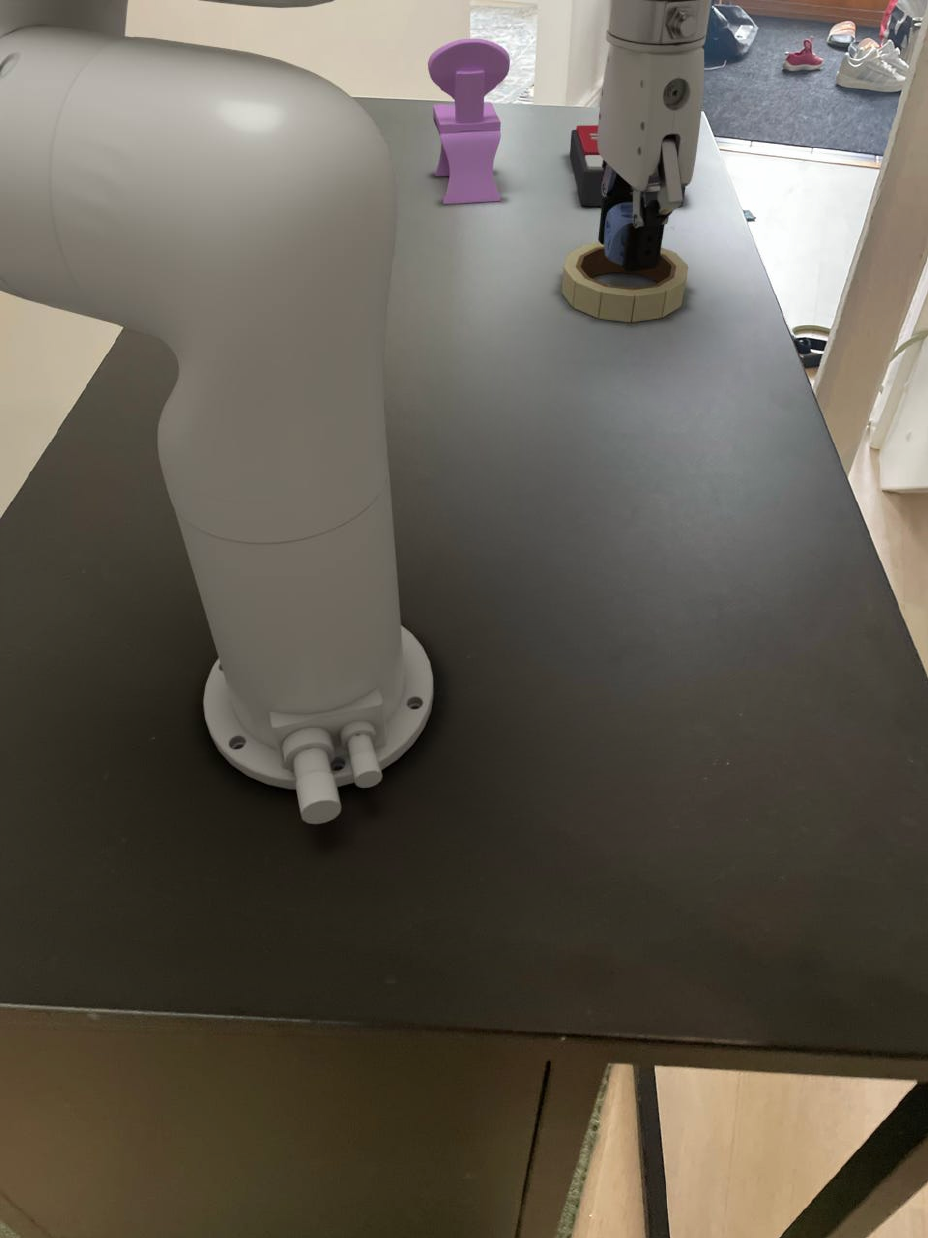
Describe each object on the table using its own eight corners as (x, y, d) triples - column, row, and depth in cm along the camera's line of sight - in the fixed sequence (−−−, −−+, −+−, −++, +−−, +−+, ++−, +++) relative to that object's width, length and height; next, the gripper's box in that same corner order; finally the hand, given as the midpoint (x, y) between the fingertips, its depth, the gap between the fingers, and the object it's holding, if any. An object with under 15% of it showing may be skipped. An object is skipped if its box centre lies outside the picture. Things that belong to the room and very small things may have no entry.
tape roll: (703, 312, 82) (708, 285, 80) (588, 329, 80) (591, 302, 78) (652, 259, 89) (656, 233, 87) (546, 273, 87) (548, 248, 85)
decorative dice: (646, 246, 83) (652, 201, 80) (653, 265, 80) (660, 220, 78) (602, 246, 83) (607, 201, 80) (608, 266, 80) (613, 220, 77)
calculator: (666, 121, 105) (690, 162, 95) (661, 161, 108) (683, 205, 97) (571, 121, 105) (584, 162, 95) (568, 161, 108) (581, 206, 97)
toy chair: (497, 170, 105) (500, 18, 94) (510, 200, 99) (515, 41, 88) (425, 174, 104) (420, 21, 93) (434, 204, 98) (430, 45, 87)
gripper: (758, 43, 64) (708, 292, 77) (657, -12, 75) (628, 212, 88) (659, 52, 62) (625, 304, 75) (571, -6, 73) (555, 221, 87)
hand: (627, 252), depth 81 cm, fingers closed on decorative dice, 4 cm apart
